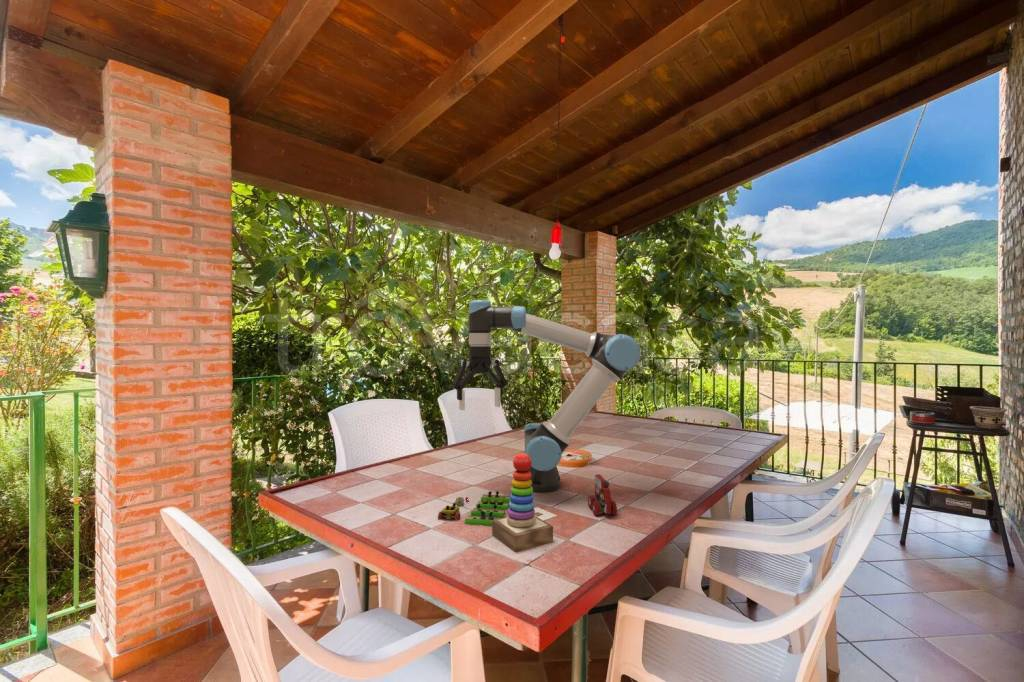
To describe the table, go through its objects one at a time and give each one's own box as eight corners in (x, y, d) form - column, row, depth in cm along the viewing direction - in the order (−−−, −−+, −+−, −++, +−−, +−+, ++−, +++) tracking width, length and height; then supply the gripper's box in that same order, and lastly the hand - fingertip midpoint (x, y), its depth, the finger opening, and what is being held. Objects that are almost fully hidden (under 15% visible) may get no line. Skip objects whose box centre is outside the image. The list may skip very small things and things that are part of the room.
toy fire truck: (597, 519, 139) (597, 485, 139) (586, 505, 152) (586, 473, 152) (619, 518, 140) (619, 484, 140) (607, 504, 152) (607, 472, 152)
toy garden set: (498, 528, 134) (498, 513, 134) (435, 524, 137) (435, 508, 137) (512, 501, 157) (512, 487, 157) (457, 498, 160) (457, 484, 160)
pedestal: (528, 525, 135) (528, 511, 135) (553, 541, 125) (553, 525, 124) (492, 535, 128) (492, 519, 128) (515, 552, 118) (515, 535, 118)
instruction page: (537, 507, 149) (537, 506, 149) (557, 516, 142) (557, 515, 142) (508, 517, 141) (508, 516, 141) (527, 526, 134) (527, 525, 134)
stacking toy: (533, 529, 122) (533, 458, 122) (503, 527, 123) (503, 456, 123) (537, 518, 130) (537, 451, 129) (509, 516, 131) (509, 449, 131)
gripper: (505, 345, 167) (505, 403, 168) (441, 346, 154) (441, 409, 155) (516, 345, 161) (516, 406, 161) (450, 346, 148) (450, 412, 148)
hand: (480, 408), depth 158 cm, fingers open, 13 cm apart
